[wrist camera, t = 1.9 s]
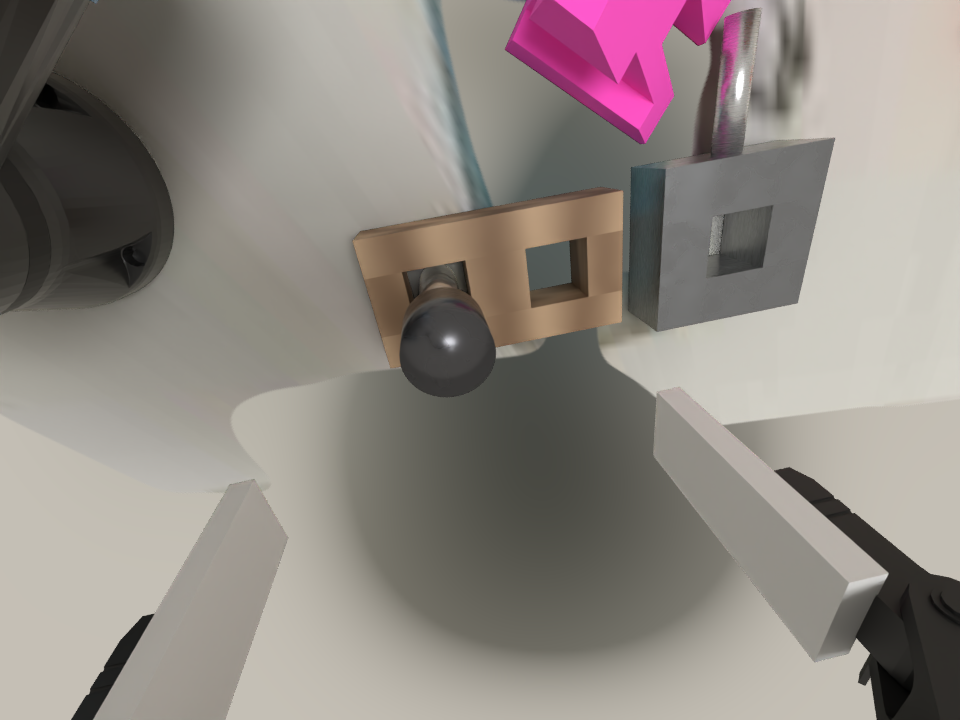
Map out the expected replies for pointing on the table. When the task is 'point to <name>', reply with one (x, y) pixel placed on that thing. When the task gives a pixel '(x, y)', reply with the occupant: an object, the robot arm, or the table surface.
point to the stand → (505, 265)
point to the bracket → (611, 52)
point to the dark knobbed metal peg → (445, 338)
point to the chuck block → (725, 210)
